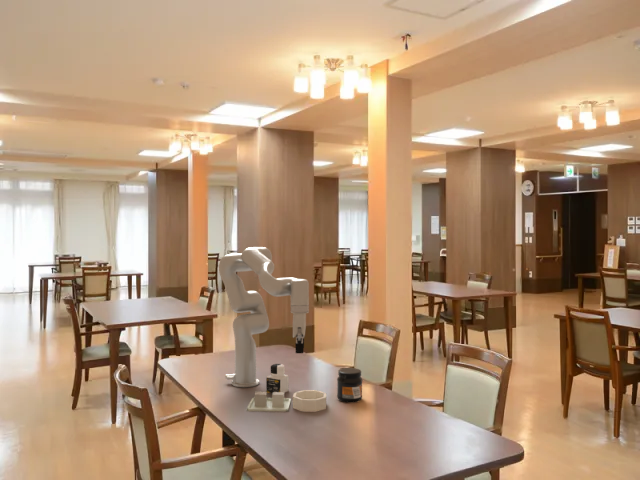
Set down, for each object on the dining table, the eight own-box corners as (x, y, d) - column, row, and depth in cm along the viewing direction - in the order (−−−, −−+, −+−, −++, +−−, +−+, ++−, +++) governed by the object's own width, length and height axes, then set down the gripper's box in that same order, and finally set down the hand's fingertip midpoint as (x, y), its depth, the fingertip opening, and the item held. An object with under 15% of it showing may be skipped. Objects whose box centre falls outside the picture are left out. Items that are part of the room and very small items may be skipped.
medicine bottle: (266, 393, 235) (266, 365, 235) (274, 389, 241) (275, 362, 241) (280, 395, 231) (280, 367, 231) (288, 391, 238) (289, 363, 238)
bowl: (291, 412, 210) (292, 399, 210) (294, 401, 223) (294, 389, 223) (325, 412, 210) (325, 400, 210) (326, 402, 223) (326, 390, 223)
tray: (246, 411, 211) (246, 408, 211) (252, 400, 225) (252, 397, 225) (287, 412, 210) (287, 409, 210) (291, 401, 224) (291, 398, 224)
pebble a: (272, 406, 215) (272, 394, 215) (273, 403, 219) (273, 392, 219) (283, 407, 215) (283, 394, 215) (284, 404, 219) (284, 392, 219)
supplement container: (360, 404, 221) (360, 374, 221) (334, 402, 223) (335, 373, 223) (363, 396, 231) (364, 368, 231) (339, 394, 233) (339, 366, 233)
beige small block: (254, 406, 216) (254, 394, 216) (256, 403, 219) (256, 391, 219) (265, 406, 216) (265, 394, 215) (266, 403, 219) (266, 391, 219)
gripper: (291, 306, 234) (291, 346, 234) (289, 312, 216) (289, 355, 216) (309, 306, 234) (309, 346, 234) (308, 312, 216) (308, 355, 217)
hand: (299, 350), depth 225 cm, fingers open, 9 cm apart
